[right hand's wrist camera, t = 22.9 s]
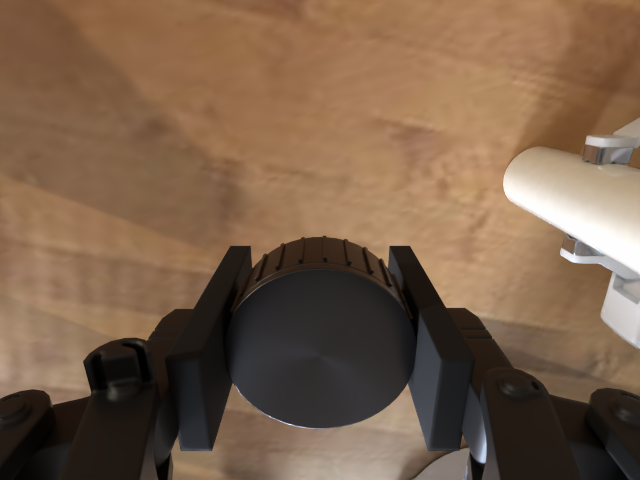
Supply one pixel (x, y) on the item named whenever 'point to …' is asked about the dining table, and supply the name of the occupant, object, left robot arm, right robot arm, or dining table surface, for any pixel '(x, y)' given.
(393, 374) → the lid
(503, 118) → the dining table surface
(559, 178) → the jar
